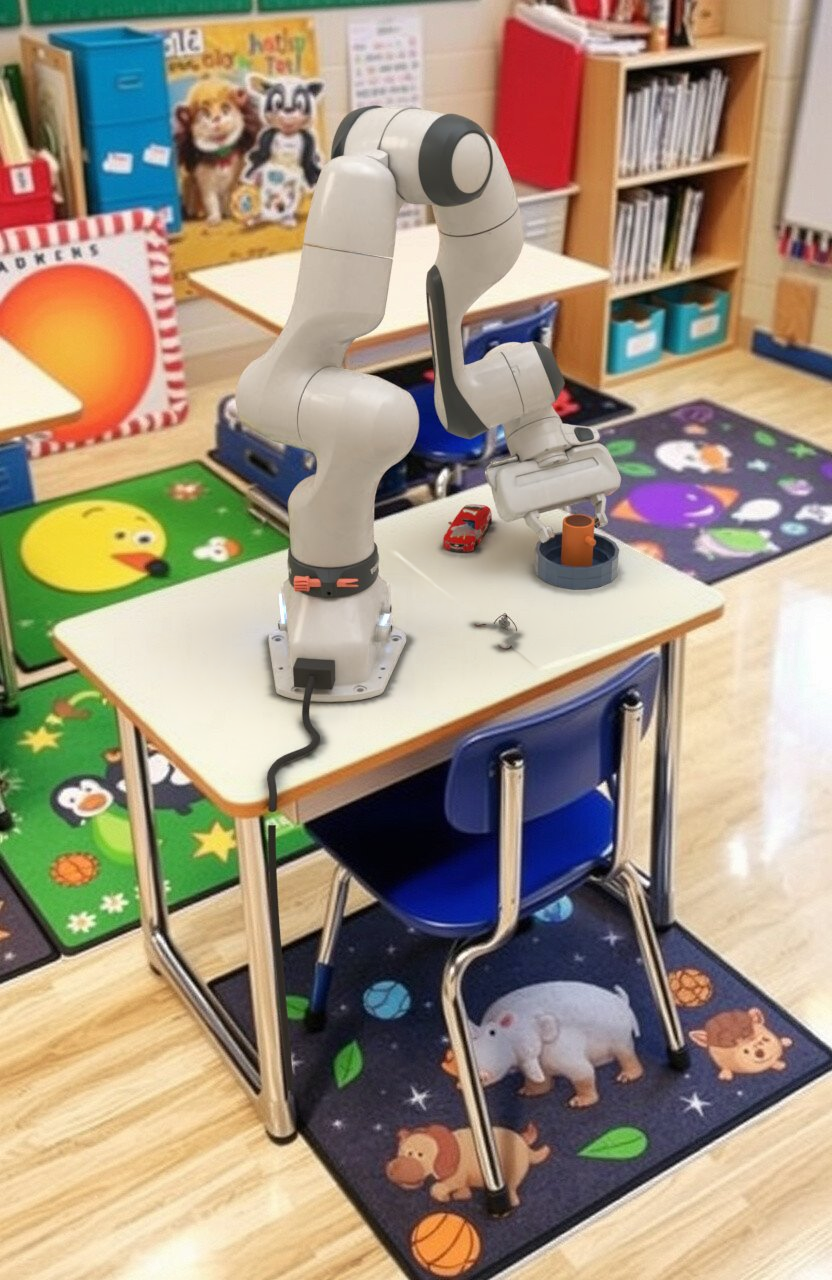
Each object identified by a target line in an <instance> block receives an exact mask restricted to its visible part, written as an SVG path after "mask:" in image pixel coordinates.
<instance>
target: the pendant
mask: <svg viewBox="0 0 832 1280" xmlns="http://www.w3.org/2000/svg"><path fill="white" fill-rule="evenodd" d="M509 620H510V621H509ZM497 621H498V624H499V625H500V626H501V627H503V628H505V629H506V630H508V631H510V630H511V628H509V627H510V626H511V622H512V624H513V626H514V628H515V632H518V627H517V625H516V623H515V622H514V621H513V619H511V617H510V616H508V614H507V613H506V612H504V613H503V614H501V615H499V616H498V617H497V618H496V619H495V620H494V622H493V625H495V624H496V622H497ZM474 626H475V627H481V626H487V624H486V623H481V624H476V623H474ZM497 645H498V648H500V649H502V650H510V649H511V648H512V647H513V646H512V645H510V646H509V647H505V648H504V647H502V646H501V645H500V644H497Z"/></svg>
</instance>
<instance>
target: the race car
mask: <svg viewBox="0 0 832 1280" xmlns="http://www.w3.org/2000/svg"><path fill="white" fill-rule="evenodd" d="M447 523H448V525H450V526H449V527H448V529H447V531H446V533H444V535H443V539H442V545H443V548H444V549H446V550H447V551H449V552H455V553H470V552H473V551H476V548H477V547H478V546H479V545H480V544H481V542H482V541H483V539H484V537H485V535H486V534H487V532H488V531H489V528H490V527H491V526H492V524H493V515H492V510H491V508H490V507H489V506H488V505H484V504H476V503H469V504H466V505H464V506H463V507H462V508H461V509H460V510H459V512H458V514H457V515H456V516H455V517H454V519H453V520H452V521H448V522H447Z"/></svg>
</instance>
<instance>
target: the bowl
mask: <svg viewBox="0 0 832 1280" xmlns="http://www.w3.org/2000/svg"><path fill="white" fill-rule="evenodd" d="M553 533H554V535H555V538H554V539H552V541H549V542H545V543H542V542H541V540H540V539H539V541H538V542H537V543H536V545H535V549H534V571H535V573H536V576H537V577H538V578H539V579H541V580H542V581H543V582H544V583H547V584H549V585H552V586H554V587H557V588H563V589H569V590H589V589H594V588H600V587H603V586H605V585H608V584H610V583H612V582H613V581H614V580H615V579H616V578H617V577H618V575H619V574H618V572H619V563H620V548H619V546H618V545H617V543H616V542H615V541H613V539H610V538H609V537H607V536H605V535H602V534H599V533H596V532H594V540H595V541H596V544H595V545H594V546H593V560H592V566H588V567H572V566H566V565H561V551H562V531H560V532H553Z"/></svg>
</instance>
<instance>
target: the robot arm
mask: <svg viewBox="0 0 832 1280" xmlns="http://www.w3.org/2000/svg"><path fill="white" fill-rule="evenodd" d="M310 201H311V202H310V204H309V209H308V214H307V218H306V222H305V228H304V234H303V240H302V242H303V244H302V249H301V255H300V262H299V269H298V276H297V282H296V287H295V291H294V297H293V303H292V305H291V309H290V312H289V315H288V317H287V320H286V322H285V325H284V326H283V328H282V330H281V332H280V334H279V335H278V336H277V338H276V340H275V341H274V342H273V344H272V345H271V346H270V348H268V349H267V350H266V351H265V352H264V353H263V354H262V355H260V356H259V357H257V358H255V359H253V360H252V361H251V362H250V363H249V364H248V365H247V366H246V367H245V369H244V370H243V371H242V373H241V375H240V376H239V379H238V380H237V381H238V382H237V383H236V384H237V385H236V388H235V405H236V406H235V407H236V411H237V414H238V417H239V419H240V421H241V422H242V424H243V425H244V426H245V427H247V428H249V429H251V431H254V432H255V433H257V434H259V435H261V436H262V437H265V438H266V439H268V440H270V441H272V442H274V443H278V444H282V445H285V446H289V447H293V448H297V449H301V450H304V451H307V452H309V453H312V454H313V455H314V458H315V460H316V471H315V473H314V474H311V475H310V476H307V477H305V478H304V479H302V480H301V481H300V482H298V483H297V485H296V486H294V488H293V490H292V491H291V493H290V495H289V498H288V499H287V512H288V513H287V514H288V529H289V542H290V543H289V544H290V546H289V547H288V550H287V560H286V561H287V563H286V564H287V570H288V571H287V572H288V578H287V579H286V580H285V581H284V582H283V583H281V584H280V593H278V597H279V609H280V618H281V620H278V623H277V628H276V629H274V630H272V631H271V632H269V634H268V647H269V654H270V660H271V666H272V673H273V681H274V687H275V692H276V694H277V695H280V696H281V697H285V698H288V699H292V700H297V701H302V705H301V706H302V708H301V718H302V723H303V726H304V728H305V730H306V731H307V733H308V734H309V735H310V736H311V738H312V740H311V742H310V743H309V744H307V745H306V746H304V747H301V748H299V749H297V750H294V751H291V752H289V753H286V754H284V755H282V756H280V757H279V758H277V759H276V760H275V761H273V762H272V765H270V767H269V768H268V771H267V773H266V774H267V775H266V781H267V786H268V812H270V813H274V812H276V811H277V809H278V807H277V805H278V789H277V782H276V774H277V772H278V770H279V769H280V768H281V767H282V766H283V765H285V764H286V763H289V762H291V761H293V760H296V759H299V758H301V757H304V756H307V755H309V754H311V753H312V752H313V751H315V750H316V748H317V747H318V746H319V744H320V742H321V735H320V733H319V731H318V730H316V728H315V727H314V726H313V725H312V722H311V717H310V709H311V708H310V707H311V702H315V703H317V702H320V703H339V702H353V701H361V700H367V699H371V698H374V697H377V696H380V695H382V694H383V693H384V691H385V689H386V687H387V686H388V683H389V681H390V678H391V676H392V674H393V672H394V670H395V668H396V665H397V663H398V660H399V659H400V656H401V654H402V653H403V650H404V647H405V645H406V643H407V635H406V633H405V632H404V631H403V630H401V629H399V628H397V627H394V626H393V625H394V624H393V612H392V611H393V610H392V609H393V607H392V594H391V593H392V592H391V585H390V584H389V583H388V582H387V581H386V580H384V579H383V578H382V577H381V575H379V572H380V568H379V567H380V554H379V551H378V545H377V543H376V542H375V501H376V494H377V490H378V487H379V483H380V481H381V480H382V479H383V476H384V475H385V473H386V472H387V471H388V470H389V469H390V468H392V467H393V466H394V465H397V464H398V463H399V462H401V461H402V460H403V459H404V458H405V457H406V456H407V455H408V454H409V452H410V451H411V450H412V448H413V447H414V445H415V443H416V440H417V437H418V435H419V429H420V413H419V409H418V406H417V402H416V401H415V399H414V397H413V395H412V394H411V393H410V392H409V391H407V390H406V389H403V388H402V387H400V386H398V385H396V384H394V383H392V382H390V381H388V380H386V379H384V378H382V377H380V376H377V375H372V374H368V373H365V372H361V371H360V372H359V371H355V370H352V369H347V368H342V366H343V362H344V358H345V355H346V354H347V351H348V350H349V348H350V346H351V345H352V344H353V342H354V341H355V340H356V339H358V338H362V337H364V336H366V335H368V334H370V333H372V332H373V331H375V330H376V329H377V328H378V327H379V326H380V325H381V323H382V322H383V319H384V318H385V315H386V308H387V303H388V296H389V289H390V288H389V287H390V282H391V276H392V269H393V262H394V259H393V258H394V254H395V246H396V236H397V221H398V220H397V217H398V214H399V212H400V211H401V209H402V207H403V205H404V204H409V205H411V204H412V205H425V206H429V205H430V206H431V208H432V213H433V217H434V220H435V225H436V227H437V231H438V239H439V243H438V244H439V245H438V252H437V255H436V259H435V261H434V263H433V265H432V266H431V267H430V268H429V270H428V271H427V272H426V278H425V295H426V296H425V297H426V309H427V310H426V311H427V322H428V330H429V331H428V332H429V339H430V348H431V349H430V350H431V357H432V367H433V388H434V389H433V391H434V393H433V398H434V399H433V400H434V401H433V402H434V407H435V408H434V409H435V412H436V415H437V416H438V419H439V422H440V423H441V425H442V426H443V428H444V430H445V432H448V433H449V434H451V435H454V436H455V437H459V438H461V439H462V438H463V439H466V440H472V439H475V438H476V437H478V436H480V435H482V434H484V433H486V432H488V431H490V430H491V429H493V428H496V427H498V426H501V427H502V429H503V435H504V441H505V444H506V447H507V449H508V451H509V453H510V455H509V456H505V457H503V458H500V459H493V460H491V461H490V462H489V464H488V465H487V466H486V467H485V470H484V476H485V479H486V482H487V484H488V485H489V487H490V488H491V493H492V498H493V502H494V505H495V508H496V511H497V515H498V516H499V518H500V519H501V520H502V521H504V522H506V523H509V522H513V521H517V520H521V519H524V521H525V524H526V526H528V527H529V528H530V529H531V530H532V531H534V532H535V533H536V534H537V535H538V537H539V541H540V540H541V542H542V543H545V542H549V541H552V539H554V538H555V535H554V533H555V532H553V531H554V530H553V528H552V526H551V525H550V526H546V525H545V524H544V523H543V522H542V521H541V520H539V518H540V517H541V515H540V514H544V513H547V512H551V511H555V510H558V509H563V508H567V507H569V506H574V505H578V504H581V503H585V502H590V504H591V506H592V507H595V514H594V516H591V518H593V519H594V522H595V523H594V529H598V528H603V527H605V526H606V525H608V523H609V520H608V517H607V515H606V513H605V512H606V506H607V496H611V495H612V494H614V493H615V492H616V491H617V490H618V489H619V488H620V487H621V483H622V477H621V474H620V472H619V469H618V467H617V465H616V463H615V460H614V459H613V457H612V454H610V451H609V450H608V448H606V446H605V445H603V444H601V443H600V442H598V441H599V440H600V439H601V437H600V433H599V431H598V429H597V428H596V427H594V426H584V425H576V424H569V423H563V420H562V419H561V417H560V415H559V414H558V413H557V412H556V409H555V408H554V407H553V404H555V403H556V402H557V401H558V398H559V397H560V395H561V393H562V391H563V389H564V387H565V385H566V383H565V379H564V376H563V374H562V372H561V370H560V368H559V365H558V362H557V361H556V358H555V356H554V354H553V351H552V348H550V347H549V346H546V345H545V344H543V343H541V342H538V341H534V340H531V341H526V342H522V343H521V342H517V341H512V342H511V341H510V342H509V341H508V342H504V343H501V344H498V345H496V346H494V347H493V348H491V349H490V350H489V351H488V352H486V353H485V355H484V356H483V358H482V359H479V360H476V361H474V362H471V363H468V364H465V361H464V358H465V357H464V350H463V339H462V338H463V337H462V322H463V319H464V317H465V315H466V313H467V312H468V310H469V309H470V308H471V307H472V305H473V304H474V303H475V302H476V301H477V300H478V299H480V297H481V296H483V295H484V294H485V293H486V292H487V291H488V290H489V289H491V288H492V287H493V286H495V285H496V284H498V282H500V281H501V280H503V278H504V277H506V275H507V274H508V273H509V272H510V271H511V270H512V268H513V267H514V266H515V264H517V261H518V259H519V257H520V255H521V253H522V250H523V247H524V243H525V232H524V225H523V217H522V214H521V209H520V204H519V201H518V197H517V193H516V189H515V186H514V183H513V180H512V177H511V175H510V172H509V170H508V167H507V165H506V162H505V160H504V158H503V155H502V153H501V151H500V149H499V147H498V145H497V143H496V141H495V140H494V138H492V136H491V135H490V134H488V133H487V132H485V130H484V128H483V127H482V126H481V125H479V123H477V122H475V121H474V120H472V119H470V118H469V117H466V116H463V115H460V114H457V113H447V114H446V113H443V112H439V111H434V110H428V109H422V108H420V107H417V106H404V105H403V106H400V105H399V106H395V105H393V106H382V105H376V104H374V105H368V106H367V105H366V106H363V107H359V108H356V109H354V110H352V111H350V112H348V113H347V114H346V115H345V117H343V118H342V120H341V122H340V123H339V125H338V126H337V128H336V131H335V134H334V136H333V140H332V144H331V150H330V160H329V161H328V162H326V163H325V164H324V165H323V167H322V169H321V171H320V173H319V175H318V178H317V181H316V184H315V187H314V191H313V194H312V198H311V200H310ZM276 832H277V824H268V825H267V852H268V853H267V855H268V879H269V896H270V897H269V898H270V911H271V922H272V923H271V925H272V926H271V927H272V937H273V950H274V951H273V952H274V960H275V961H274V962H275V972H276V982H277V993H278V1003H279V1014H280V1023H281V1033H282V1035H281V1036H282V1046H283V1056H284V1057H283V1058H284V1067H285V1079H286V1081H285V1082H286V1090H287V1091H288V1092H292V1091H294V1090H295V1084H294V1083H295V1082H294V1071H293V1059H292V1049H291V1037H290V1025H289V1016H288V1006H287V1005H288V1004H287V994H286V993H287V992H286V984H285V972H284V961H283V950H282V939H281V938H282V937H281V925H280V924H281V923H280V909H279V893H278V874H277V873H278V872H277V833H276Z"/></svg>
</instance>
